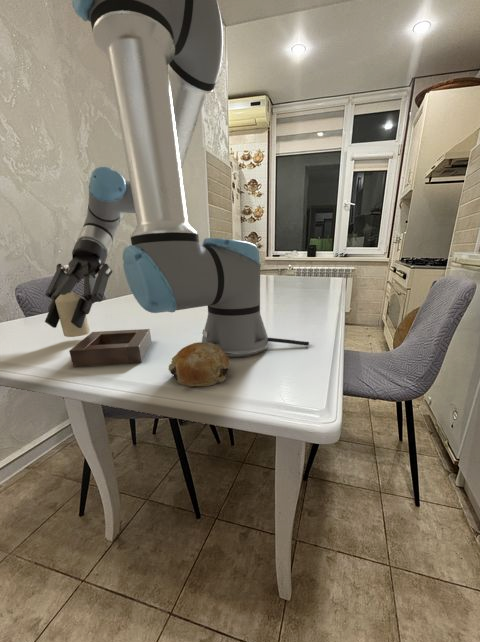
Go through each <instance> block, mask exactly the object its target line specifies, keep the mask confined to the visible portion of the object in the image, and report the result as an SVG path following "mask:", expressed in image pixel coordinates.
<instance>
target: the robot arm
mask: <svg viewBox="0 0 480 642" xmlns="http://www.w3.org/2000/svg"><path fill="white" fill-rule="evenodd" d="M71 3H72V8H73V10H74V13H75V14H76V15H77V16H78V17H79V18H81V19H82V20H83V22H90V25H91V30H92V31H91V32H92V35H93V36H92V37H93V41H94V43H95V45H96V47H97V49H98V50H99V51H100V52H101V53H102V54H103V55H104V56H105V57H106V59H108V63H109V69H110V75H111V81H112V87H113V92H114V97H115V105H116V110H117V116H118V120H119V125H120V132H121V138H122V143H123V150H124V155H125V161H126V166H127V172H128V173H127V174H128V179H129V180H126V179H125V178H124V176H123V175H122V174H121V173H120V172H119V171H117V170H113V169H111V168H110V167H107V166H98V167H96V168H94V169H93V171H91V175H90V177H89V183H88V184H89V185H88V204H87V214H86V217H85V220H84V223H83V225H82V228H81V229H80V231H79V234H78V236H77V239H76V241H75V244H74V246H73V248H72V250H71V251H72V252H71V255H72V259H71V260H70V261H69V262H68V263H67V264H64V265H62V263H57V264H56V268H55V269H56V270H55V273H54V275H53V276H52V279H51V281H50V282H49V285H48V287H47V289H46V291H45V294H44V295H45V296H46V298H48V299H49V300H51V301H50V303H49V305H48V308H47V312H48V313H47V316H46V318H45V320H44V323H46V324H47V325H49V326H50V327H51V328H53V329H54V328H57V327H58V324H59V322H60V318H59V314H58V310H57V306H56V303H55V300H56V299H57V298H58V297H59V296H60V294H61V295H66V294H67V293H71V292H72V290H73V289H74V288H75V287H76V285H77V284H79V283H81V281H82V280H83V294H81V296H82V297H81V298H80V299H79V301H78V304H77V307H76V309H75V312H74V315H73V317H72V320H71V323H73V324H74V325H75V326H76V327H78V328H82V325H83V322H84V319H85V316H87V315H89V314H90V312H91V310H92V306H93V304H95V303H96V302H98V303H101V302H102V301H103V299H104V296H105V292H106V288H107V285H108V281H109V279H110V277H111V275H112V274H113V271H114V270H113V269H112V268H111V267H110V266H109V264H108V263H106V262H107V259H108V255H109V253H110V250H111V247H112V244H113V241H114V238H115V236H116V233H117V230H118V228H119V226H120V223H121V217H122V213H123V214H124V213H125V214H135V217H136V223H137V225H136V228H135V229H134V230H133V231H132V233H131V234H130V236H129V238H130V241H131V242H130V243H131V244H129V245H128V246H126V247H125V248H124V249H123V250H122V251H123V252H122V261H123V263H122V265H123V271H124V276H125V279H126V282H127V284H128V286H129V289H130V291H131V293H132V296H133V297H134V299H135V300H136V302H137V303H138V305H139V306H140V307H141V308H142V309H143V310H145V311H146V312H149V313H150V314H160V313H176V312H177V311H182V310H183V311H184V310H189V309H195V308H202V307H207V318H206V321H205V325H204V328H203V329H202V331H201V332H202V333H201V334H202V337H201V342H204V343H213V344H214V345H215V346H217V347H219V348H221V349H222V350H223V351H224V352H225V354H226V355H227V357H228V358H244V357H250V356H254V355H258V354H260V353H262V352H264V351H266V350H267V349H268V347H269V342H270V343H279V344H280V343H281V344H291V345H298V346H309V345H310V341H302V340H295V339H287V338H279V337H278V338H277V337H268V333H267V330H266V327H265V324H264V321H263V318H262V315H261V268H262V264H261V259H260V257H261V255H260V249H259V248H258V246H257V245H256V244H254V243H252V242H249V241H243V240H239V239H238V240H237V239H229V238H228V239H227V238H219V237H205V238H204V239H203V240H202V241H203V242H202V245H200V239H199V238H200V237H199V233H198V231H197V230H195V229H194V228H193V227H192V226H191V225H190V223H189V218H188V212H187V211H188V210H187V204H186V203H187V202H186V195H185V187H184V181H183V172H182V169H183V166H184V163H185V160H186V157H187V154H188V151H189V148H190V145H191V142H192V139H193V136H194V133H195V130H196V127H197V124H198V121H199V118H200V115H201V112H202V109H203V106H204V103H205V100H206V96H207V94H210V93H212V92H214V90H215V88H216V84H217V81H218V79H219V76H220V72H221V69H222V68H221V67H222V60H223V52H224V51H223V49H224V30H223V20H222V15H221V9H220V6H219V1H218V0H71Z"/></svg>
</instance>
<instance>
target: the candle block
mask: <svg viewBox="0 0 480 642" xmlns="http://www.w3.org/2000/svg"><path fill="white" fill-rule="evenodd" d="M152 343H153V341H152V336H151V329H150V328H143V329H141V328H140V329H120V330H102V331H91V332H90V333H88V334H87V335H86V336H85V337H84V338H83V339H82V340H80V341H79V342H78V343H77V344H75V345H74V346H73V347H72V348H71V349H69V351H68V352H69V355H70V360H71V363H72V368H84V367H96V366H97V367H99V366H113V365H114V366H115V365H127V364H140V363H142V362H143V360H144V358H145V357H146V354H147V352H148V351H149V349H150V347H151V345H152Z"/></svg>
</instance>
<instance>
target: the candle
mask: <svg viewBox="0 0 480 642" xmlns="http://www.w3.org/2000/svg"><path fill="white" fill-rule="evenodd" d="M80 298H82V297H81V296H80V295H78V294H76V293H75V292H73V291H71V292H70V293H67V294H66V295H61V294H60V296H58V298H57V299H56V300H55V303H56V306H57V310H58V314H59V318H60V319H59V322H60V326H61V330H62V334H63V336H64V337H66V338H76V337H82V336H87V335H89V334H90V333H91V331H90V325H89V322H88V317H87V315H86V316H85V319H84V322H83V325H82V328H78V327H76V326H75V325H74V324H73V323H71V320H72V317H73V315H74V312H75V309H76V307H77V304H78V301H79V299H80Z"/></svg>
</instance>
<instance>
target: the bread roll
mask: <svg viewBox="0 0 480 642" xmlns="http://www.w3.org/2000/svg"><path fill="white" fill-rule="evenodd" d="M170 362H171V363H170V364H168V371H169V372H170V374H171V375H173V376H172V379H174V380H175V381H176V382H178V383H179V384H180V385H183V386H186V387H188V388H193V387H209V386H213V385H216V384H218V383H223V382H224V381H225V380H226V379H227V376H228V373H229V371H230V360H229V357H227V355H226V354H225V352H224V351H223V350H222V349H221V348H219V347H217V346H215V345H214V344H213V343H204V342H202V341H201V342H200V341H199V342H193V343H191V344H188V345H186V346H184V347H182V348H181V349H180V350H179V351H177V353H176V354H175V355H174V356H173V357H172V358H171V361H170Z"/></svg>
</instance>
